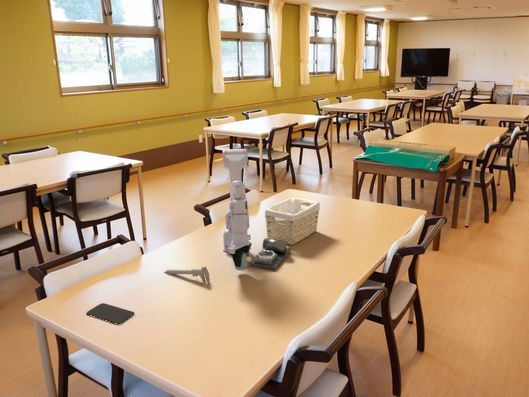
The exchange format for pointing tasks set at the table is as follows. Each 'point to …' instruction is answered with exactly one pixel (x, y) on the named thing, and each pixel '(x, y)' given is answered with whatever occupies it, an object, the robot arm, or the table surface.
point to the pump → (244, 262)
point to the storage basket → (292, 220)
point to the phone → (110, 313)
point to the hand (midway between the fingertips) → (240, 263)
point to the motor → (271, 254)
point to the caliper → (192, 273)
